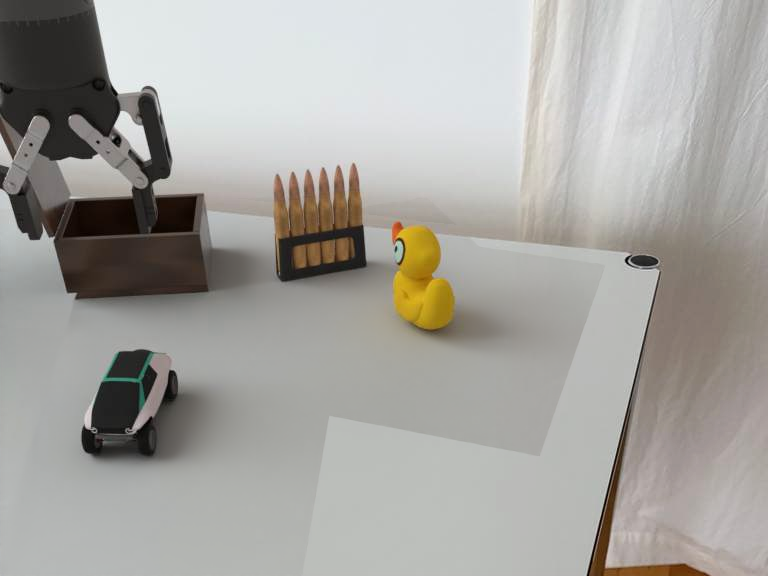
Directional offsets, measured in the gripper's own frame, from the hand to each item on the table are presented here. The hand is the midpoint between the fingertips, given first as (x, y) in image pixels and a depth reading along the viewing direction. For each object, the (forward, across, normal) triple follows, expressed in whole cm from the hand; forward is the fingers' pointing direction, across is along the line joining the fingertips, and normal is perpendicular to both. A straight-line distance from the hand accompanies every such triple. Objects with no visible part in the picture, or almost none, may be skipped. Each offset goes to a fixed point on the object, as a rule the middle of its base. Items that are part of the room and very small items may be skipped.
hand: (91, 233), depth 72 cm
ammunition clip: (+18, -19, -29) cm, 39 cm away
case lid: (+3, +11, -31) cm, 33 cm away
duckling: (+18, -29, -16) cm, 38 cm away
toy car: (+18, 0, 0) cm, 18 cm away
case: (+18, +2, -31) cm, 36 cm away
